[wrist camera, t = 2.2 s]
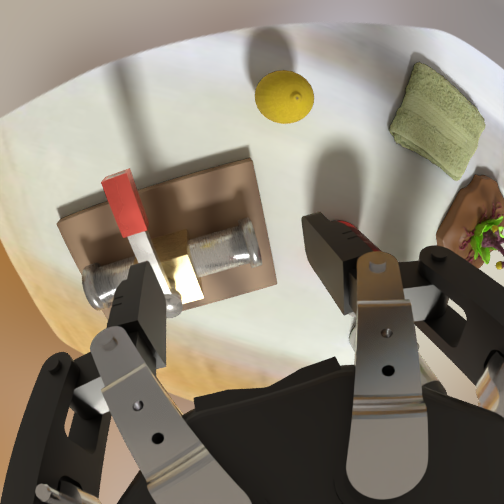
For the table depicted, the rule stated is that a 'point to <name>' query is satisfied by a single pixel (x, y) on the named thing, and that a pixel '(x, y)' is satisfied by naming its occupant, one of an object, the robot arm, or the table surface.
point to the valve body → (179, 262)
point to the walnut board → (182, 226)
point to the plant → (475, 222)
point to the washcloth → (437, 122)
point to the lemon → (284, 97)
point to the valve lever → (138, 231)
